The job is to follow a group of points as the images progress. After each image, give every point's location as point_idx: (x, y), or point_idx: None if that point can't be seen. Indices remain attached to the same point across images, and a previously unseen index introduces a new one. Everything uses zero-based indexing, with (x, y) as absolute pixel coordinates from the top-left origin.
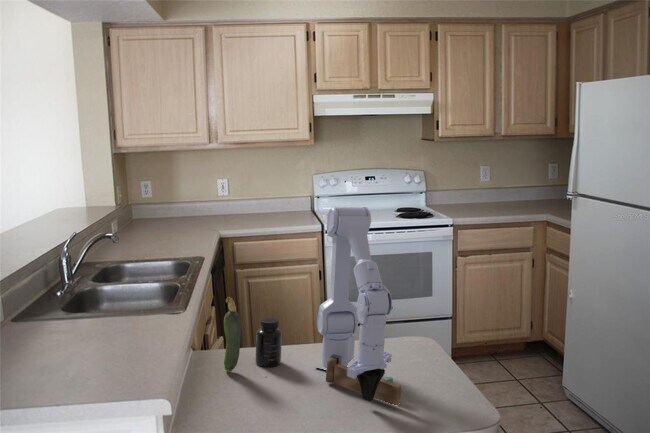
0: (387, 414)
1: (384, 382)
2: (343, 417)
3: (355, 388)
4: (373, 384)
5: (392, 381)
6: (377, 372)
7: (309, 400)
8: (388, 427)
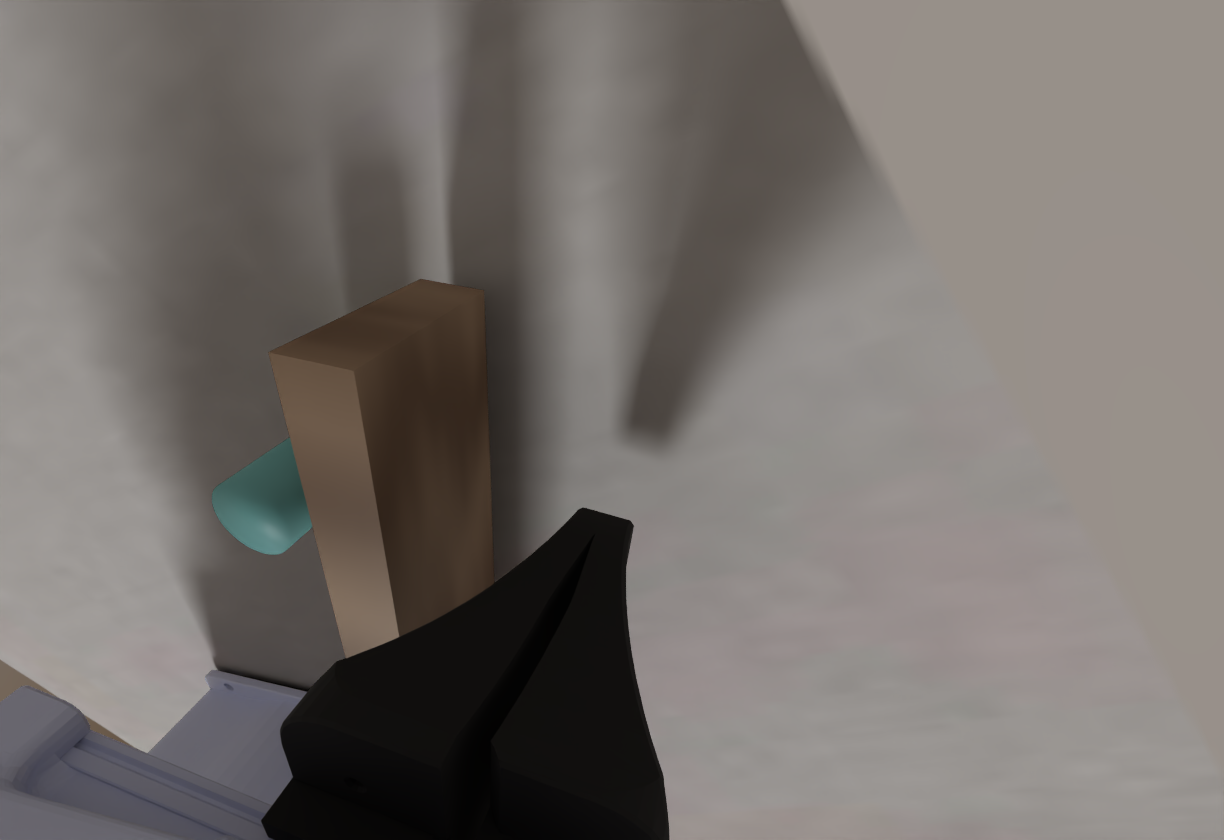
0: (623, 317)
1: (375, 541)
2: (894, 595)
3: None
4: (588, 653)
5: (253, 473)
6: (448, 785)
7: (760, 788)
8: (894, 195)
